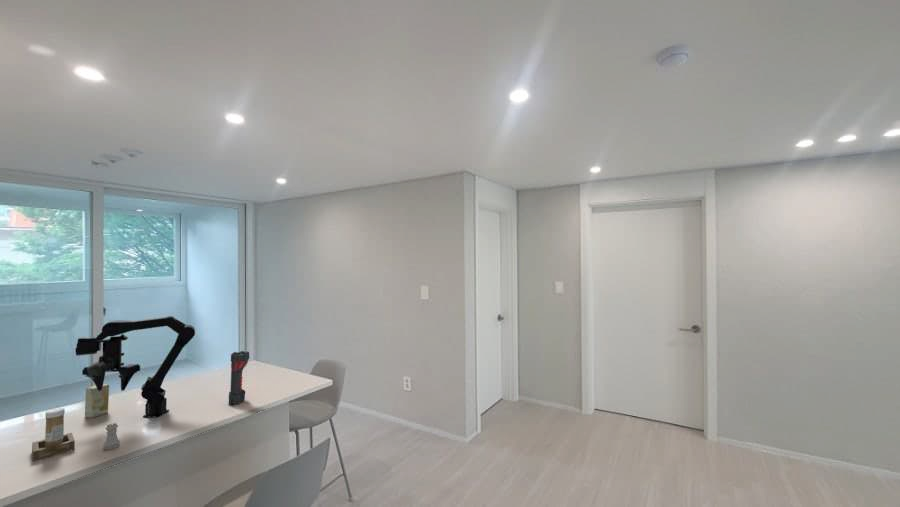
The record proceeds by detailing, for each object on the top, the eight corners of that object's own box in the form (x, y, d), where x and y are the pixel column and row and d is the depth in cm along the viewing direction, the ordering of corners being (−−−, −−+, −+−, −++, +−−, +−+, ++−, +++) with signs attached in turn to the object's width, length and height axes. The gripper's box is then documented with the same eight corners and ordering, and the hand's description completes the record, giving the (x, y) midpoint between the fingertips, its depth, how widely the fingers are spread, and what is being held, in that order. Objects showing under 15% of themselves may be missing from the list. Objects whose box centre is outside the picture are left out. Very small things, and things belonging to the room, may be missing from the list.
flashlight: (250, 397, 175) (250, 349, 176) (246, 403, 168) (247, 353, 168) (231, 399, 173) (232, 351, 173) (227, 406, 166) (228, 355, 166)
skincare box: (92, 418, 153) (92, 388, 153) (84, 417, 154) (84, 388, 154) (109, 412, 159) (109, 383, 159) (101, 411, 160) (101, 383, 160)
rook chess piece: (110, 444, 131) (110, 422, 131) (123, 444, 131) (123, 421, 132) (99, 451, 127) (99, 427, 127) (113, 450, 127) (113, 427, 127)
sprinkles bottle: (42, 450, 126) (43, 411, 126) (60, 444, 130) (61, 406, 130) (47, 453, 124) (48, 413, 124) (66, 447, 128) (66, 408, 128)
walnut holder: (71, 441, 133) (71, 432, 133) (74, 450, 127) (74, 440, 127) (32, 451, 126) (32, 442, 126) (33, 461, 120) (33, 451, 120)
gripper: (68, 357, 141) (67, 398, 141) (117, 357, 141) (117, 397, 141) (96, 350, 152) (95, 388, 152) (141, 350, 152) (141, 387, 152)
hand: (111, 390), depth 149 cm, fingers open, 9 cm apart
